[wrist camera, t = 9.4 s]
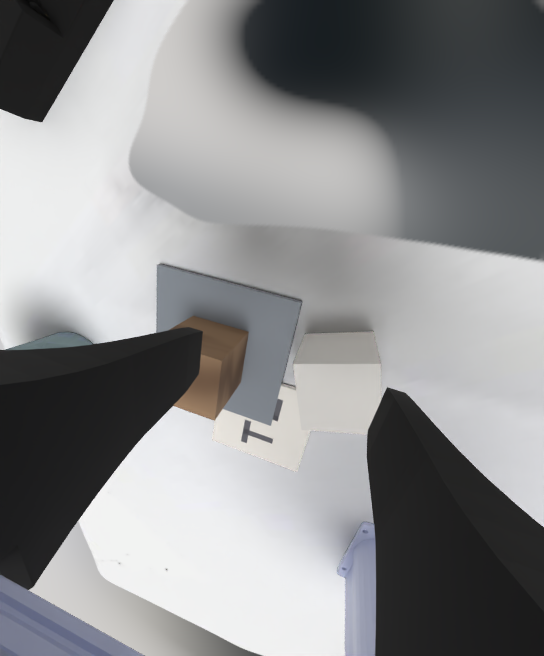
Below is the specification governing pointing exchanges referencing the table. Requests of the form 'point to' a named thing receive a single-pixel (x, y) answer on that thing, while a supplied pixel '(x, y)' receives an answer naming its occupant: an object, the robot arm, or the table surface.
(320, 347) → the off-white block
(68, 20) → the battery charger
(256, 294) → the slate pad
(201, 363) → the walnut block
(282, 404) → the tile
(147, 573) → the table surface
